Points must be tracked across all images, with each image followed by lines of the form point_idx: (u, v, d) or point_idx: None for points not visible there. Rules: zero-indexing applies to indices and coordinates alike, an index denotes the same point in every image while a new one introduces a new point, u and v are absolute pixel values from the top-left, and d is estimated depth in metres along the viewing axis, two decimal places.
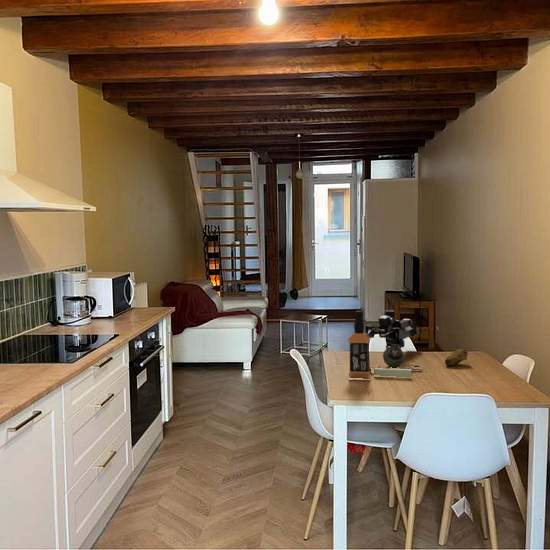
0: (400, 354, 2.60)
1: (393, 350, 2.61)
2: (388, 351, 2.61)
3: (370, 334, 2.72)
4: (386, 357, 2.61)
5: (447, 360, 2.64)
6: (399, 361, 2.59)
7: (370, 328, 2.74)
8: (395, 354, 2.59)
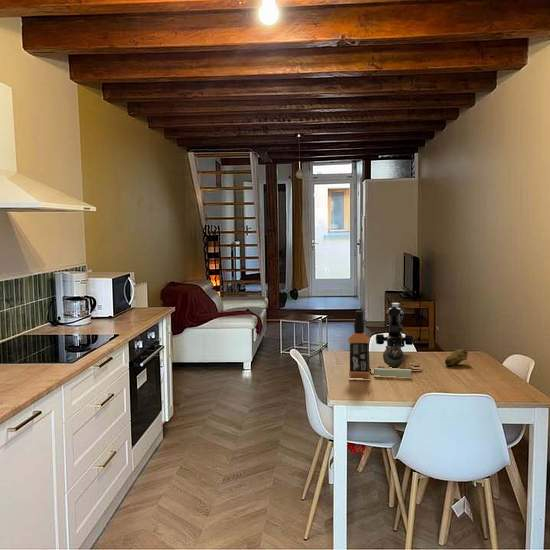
0: (400, 354, 2.59)
1: (393, 350, 2.60)
2: (388, 351, 2.61)
3: None
4: (386, 358, 2.60)
5: (447, 360, 2.64)
6: (399, 361, 2.59)
7: (391, 341, 2.71)
8: (395, 354, 2.59)
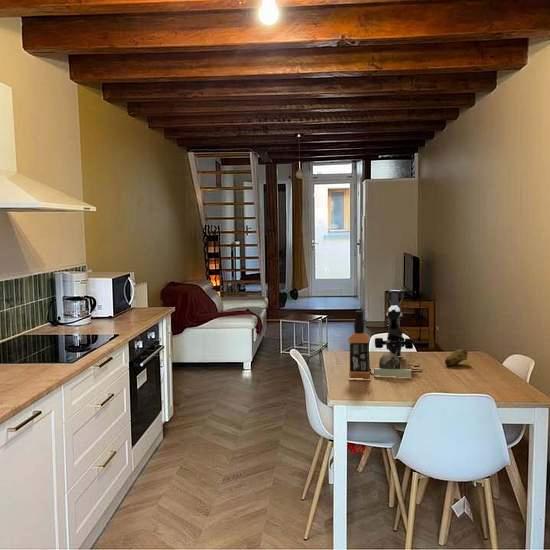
0: (398, 366, 2.50)
1: (391, 368, 2.49)
2: None
3: (393, 352, 2.62)
4: None
5: (447, 360, 2.64)
6: None
7: (390, 345, 2.62)
8: None
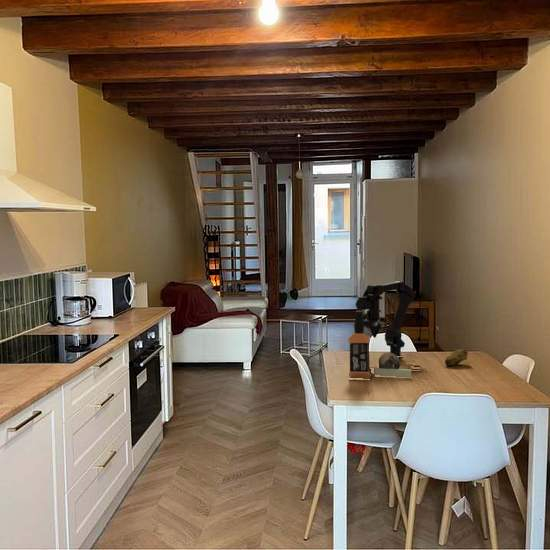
0: (397, 365, 2.50)
1: (390, 368, 2.49)
2: None
3: None
4: None
5: (447, 360, 2.64)
6: None
7: None
8: None
